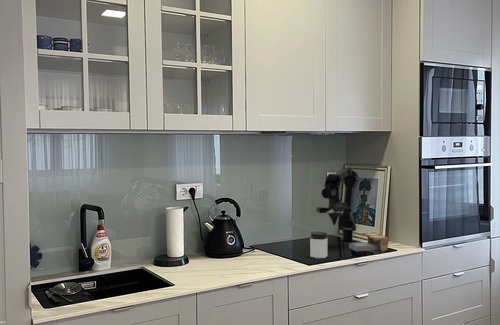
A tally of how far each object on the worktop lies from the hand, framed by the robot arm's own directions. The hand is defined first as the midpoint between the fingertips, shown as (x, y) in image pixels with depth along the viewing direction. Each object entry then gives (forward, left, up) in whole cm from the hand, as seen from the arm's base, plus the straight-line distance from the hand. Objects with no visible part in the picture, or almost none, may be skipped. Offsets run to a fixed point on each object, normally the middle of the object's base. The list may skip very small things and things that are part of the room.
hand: (333, 225), depth 275 cm
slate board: (+9, +14, -12) cm, 21 cm away
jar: (+20, -16, -12) cm, 28 cm away
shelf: (+8, +20, -12) cm, 25 cm away
